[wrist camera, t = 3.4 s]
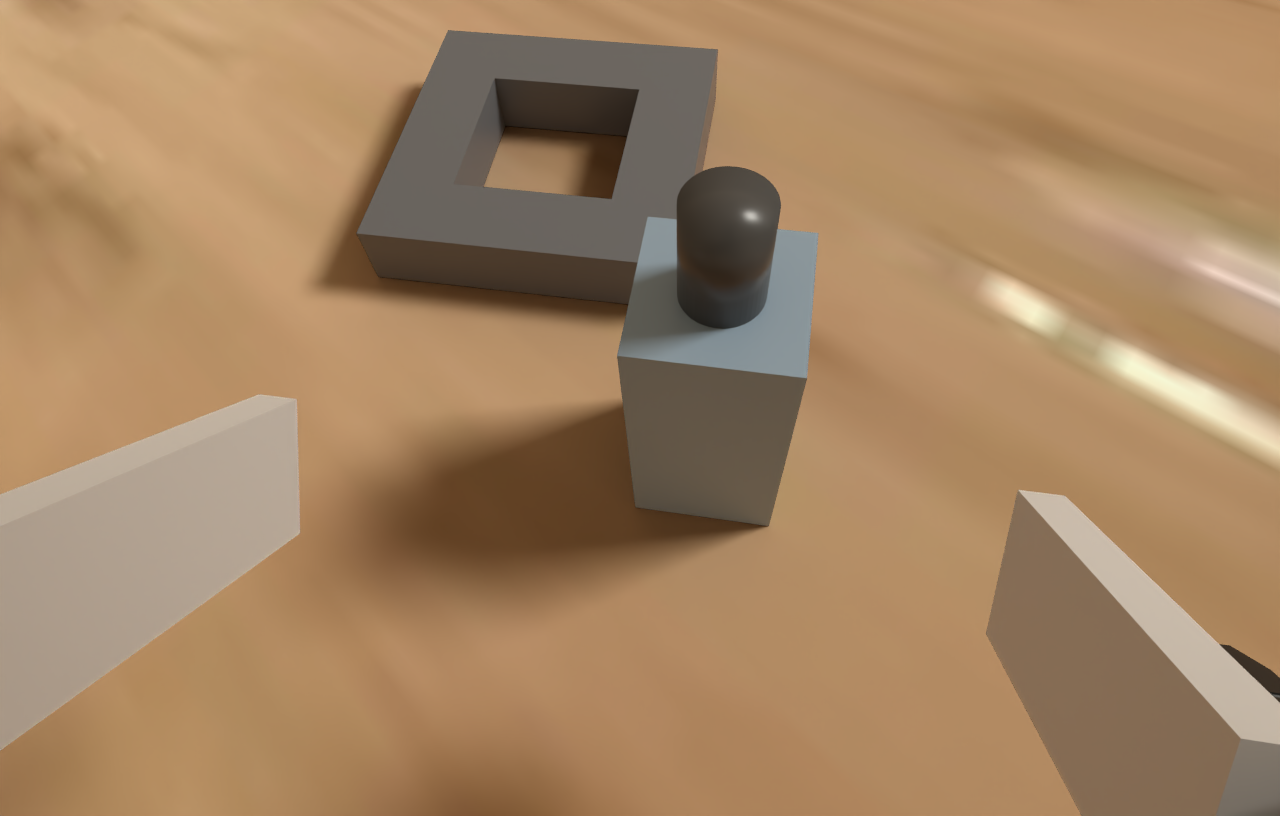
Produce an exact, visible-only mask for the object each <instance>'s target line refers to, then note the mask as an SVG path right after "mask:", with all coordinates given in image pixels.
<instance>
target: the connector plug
mask: <svg viewBox="0 0 1280 816" xmlns="http://www.w3.org/2000/svg"><path fill="white" fill-rule="evenodd" d="M780 209H781V202H780V197H779V194H778V192H777V190H776V189H775V187H774V186H773V184H772V183H771V182H770V181H769V180H767V179H766V178H765V177H763V176H762V175H760V174H758V173H756V172H754V171H751V170H748V169H745V168H740V167H730V166H725V167H716V168H711V169H708V170H705V171H702V172H700V173H698V174H696V175H695V176H693V177H691V178H690V179H689V180H688V181H687V182H686V183H685V184H684V185H683V187H682V188H681V190H680V192H679V194H678V197H677V219H667V218H657V217H648V218H647V222H646V227H645V231H644V236H643V241H642V245H641V250H640V254H639V259H638V263H637V268H636V272H635V277H634V282H633V286H632V291H631V295H630V300H629V304H628V309H627V313H626V318H625V323H624V327H623V332H622V336H621V341H620V345H619V350H618V354H617V358H618V366H619V375H620V383H621V392H622V400H623V408H624V417H625V425H626V434H627V442H628V450H629V459H630V467H631V476H632V484H633V492H634V501H635V507H637V508H644V509H651V510H658V511H665V512H672V513H679V514H686V515H694V516H701V517H708V518H715V519H722V520H729V521H736V522H743V523H750V524H757V525H764V526H769V524H770V520H771V516H772V512H773V508H774V504H775V500H776V496H777V493H778V489H779V485H780V481H781V477H782V473H783V469H784V465H785V461H786V458H787V454H788V450H789V446H790V442H791V438H792V434H793V430H794V426H795V423H796V419H797V415H798V411H799V407H800V403H801V399H802V395H803V391H804V388H805V384H806V380H807V371H808V358H809V345H810V333H811V320H812V307H813V295H814V282H815V269H816V257H817V244H818V233H811V232H801V231H791V230H781V229H778V222H779V215H780Z"/></svg>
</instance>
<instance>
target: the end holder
mask: <svg viewBox="0 0 1280 816" xmlns="http://www.w3.org/2000/svg"><path fill="white" fill-rule="evenodd" d="M717 57H718V49H704V48H690V47H676V46H661V45H647V44H633V43H619V42H605V41H591V40H577V39H563V38H549V37H535V36H521V35H507V34H493V33H479V32H465V31H451V30H448V32H447V34H446V36H445V39H444V41H443V43H442V45H441V47H440V50H439V52H438V54H437V56H436V58H435V61H434V63H433V65H432V67H431V69H430V72H429V74H428V76H427V78H426V81H425V83H424V85H423V87H422V89H421V92H420V94H419V96H418V98H417V100H416V103H415V105H414V107H413V109H412V112H411V114H410V116H409V118H408V120H407V123H406V125H405V127H404V129H403V131H402V134H401V136H400V138H399V140H398V142H397V145H396V147H395V149H394V151H393V154H392V156H391V158H390V160H389V162H388V165H387V167H386V169H385V171H384V173H383V176H382V178H381V180H380V182H379V185H378V187H377V189H376V191H375V193H374V196H373V198H372V200H371V202H370V204H369V207H368V209H367V211H366V213H365V215H364V218H363V220H362V222H361V224H360V227H359V229H358V231H357V233H356V234H357V236H358V237H359V239H360V241H361V243H362V245H363V247H364V249H365V251H366V253H367V255H368V257H369V259H370V261H371V263H372V265H373V267H374V269H375V271H376V273H377V275H378V277H386V278H395V279H404V280H413V281H422V282H431V283H440V284H449V285H458V286H467V287H476V288H485V289H494V290H503V291H512V292H521V293H530V294H540V295H549V296H558V297H567V298H576V299H585V300H594V301H603V302H612V303H621V304H629V300H630V295H631V291H632V286H633V282H634V277H635V272H636V268H637V263H638V259H639V254H640V250H641V245H642V241H643V236H644V231H645V227H646V222H647V218H648V217H657V218H667V219H677V197H678V194H679V192H680V190H681V188H682V187H683V185H684V184H685V183H686V182H687V181H688V180H689V179H690V178H691V177H693V176H695V175H696V174H698V173H700V172H702V170H703V165H704V159H705V154H706V148H707V143H708V137H709V132H710V126H711V121H712V115H713V110H714V104H715V99H716V78H717ZM505 126H513V127H525V128H537V129H549V130H560V131H572V132H584V133H596V134H607V135H619V136H627V140H626V144H625V148H624V152H623V156H622V160H621V164H620V168H619V172H618V176H617V180H616V184H615V188H614V192H613V196H612V199H605V198H594V197H584V196H573V195H563V194H552V193H542V192H531V191H521V190H510V189H500V188H489V187H483V186H484V184H485V181H486V178H487V175H488V173H489V170H490V167H491V164H492V162H493V159H494V156H495V153H496V151H497V148H498V145H499V142H500V140H501V137H502V134H503V131H504V129H505Z"/></svg>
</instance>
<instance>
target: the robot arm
mask: <svg viewBox="0 0 1280 816" xmlns="http://www.w3.org/2000/svg"><path fill="white" fill-rule="evenodd" d="M299 534H300V509H299V469H298V429H297V399H292V398H284V397H276V396H268V395H260V394H259V395H256V396H253V397H251V398H248V399H246V400H243V401H241V402H238V403H235V404H233V405H230V406H228V407H225V408H222V409H220V410H217V411H215V412H212V413H210V414H207V415H204V416H202V417H199V418H197V419H194V420H191V421H189V422H186V423H184V424H181V425H179V426H176V427H173V428H171V429H168V430H166V431H163V432H160V433H158V434H155V435H153V436H150V437H148V438H145V439H142V440H140V441H137V442H135V443H132V444H129V445H127V446H124V447H122V448H119V449H117V450H114V451H111V452H109V453H106V454H104V455H101V456H98V457H96V458H93V459H91V460H88V461H86V462H83V463H80V464H78V465H75V466H73V467H70V468H67V469H65V470H62V471H60V472H57V473H55V474H52V475H49V476H47V477H44V478H42V479H39V480H36V481H34V482H31V483H29V484H26V485H23V486H21V487H18V488H16V489H13V490H11V491H8V492H5V493H3V494H0V750H2V749H3V748H5V747H6V746H7V745H9V744H10V743H12V742H13V741H14V740H16V739H17V738H18V737H20V736H21V735H23V734H24V733H25V732H27V731H28V730H29V729H31V728H32V727H34V726H35V725H36V724H38V723H39V722H40V721H42V720H43V719H45V718H46V717H47V716H49V715H50V714H52V713H53V712H54V711H56V710H57V709H58V708H60V707H61V706H63V705H64V704H65V703H67V702H68V701H69V700H71V699H72V698H74V697H75V696H76V695H78V694H79V693H81V692H82V691H83V690H85V689H86V688H87V687H89V686H90V685H92V684H93V683H94V682H96V681H97V680H98V679H100V678H101V677H103V676H104V675H105V674H107V673H108V672H109V671H111V670H112V669H114V668H115V667H116V666H118V665H119V664H121V663H122V662H123V661H125V660H126V659H127V658H129V657H130V656H132V655H133V654H134V653H136V652H137V651H138V650H140V649H141V648H143V647H144V646H145V645H147V644H148V643H150V642H151V641H152V640H154V639H155V638H156V637H158V636H159V635H161V634H162V633H163V632H165V631H166V630H167V629H169V628H170V627H172V626H173V625H174V624H176V623H177V622H178V621H180V620H181V619H183V618H184V617H185V616H187V615H188V614H190V613H191V612H192V611H194V610H195V609H196V608H198V607H199V606H201V605H202V604H203V603H205V602H206V601H207V600H209V599H210V598H212V597H213V596H214V595H216V594H217V593H218V592H220V591H221V590H223V589H224V588H225V587H227V586H228V585H230V584H231V583H232V582H234V581H235V580H236V579H238V578H239V577H241V576H242V575H243V574H245V573H246V572H247V571H249V570H250V569H252V568H253V567H254V566H256V565H257V564H259V563H260V562H261V561H263V560H264V559H265V558H267V557H268V556H270V555H271V554H272V553H274V552H275V551H276V550H278V549H279V548H281V547H282V546H283V545H285V544H286V543H287V542H289V541H290V540H292V539H293V538H294V537H296V536H297V535H299ZM986 635H987V637H988V638H989V640H990V642H991V644H992V646H993V648H994V650H995V652H996V654H997V656H998V657H999V659H1000V661H1001V663H1002V665H1003V667H1004V669H1005V671H1006V673H1007V675H1008V676H1009V678H1010V680H1011V682H1012V684H1013V686H1014V688H1015V690H1016V692H1017V694H1018V696H1019V697H1020V699H1021V701H1022V703H1023V705H1024V707H1025V709H1026V711H1027V713H1028V715H1029V716H1030V718H1031V720H1032V722H1033V724H1034V726H1035V728H1036V730H1037V732H1038V734H1039V736H1040V737H1041V739H1042V741H1043V743H1044V745H1045V747H1046V749H1047V751H1048V753H1049V755H1050V756H1051V758H1052V760H1053V762H1054V764H1055V766H1056V768H1057V770H1058V772H1059V774H1060V775H1061V777H1062V779H1063V781H1064V783H1065V785H1066V787H1067V789H1068V791H1069V793H1070V795H1071V796H1072V798H1073V800H1074V802H1075V804H1076V806H1077V808H1078V810H1079V812H1080V814H1081V815H1082V816H1280V678H1279V677H1278V676H1277V675H1276V674H1275V673H1274V672H1272V671H1271V670H1270V669H1268V668H1266V667H1265V666H1263V665H1261V664H1260V663H1258V662H1256V661H1255V660H1253V659H1251V658H1250V657H1248V656H1246V655H1245V654H1243V653H1241V652H1240V651H1238V650H1236V649H1235V648H1233V647H1231V646H1229V645H1222V644H1218V643H1217V642H1216V641H1215V640H1214V639H1213V638H1212V637H1211V636H1210V635H1209V634H1208V633H1207V632H1206V631H1205V630H1204V629H1203V628H1202V627H1201V626H1200V625H1198V624H1197V623H1196V622H1195V621H1194V620H1193V619H1192V618H1191V617H1190V616H1189V615H1188V614H1187V613H1186V612H1185V611H1184V610H1183V609H1182V608H1181V607H1180V606H1179V605H1178V604H1177V603H1176V602H1175V601H1174V600H1173V599H1172V598H1170V597H1169V596H1168V595H1167V594H1166V593H1165V592H1164V591H1163V590H1162V589H1161V588H1160V587H1159V586H1158V585H1157V584H1156V583H1155V582H1154V581H1153V580H1152V579H1151V578H1150V577H1149V576H1148V575H1147V574H1146V573H1145V572H1143V571H1142V570H1141V569H1140V568H1139V567H1138V566H1137V565H1136V564H1135V563H1134V562H1133V561H1132V560H1131V559H1130V558H1129V557H1128V556H1127V555H1126V554H1125V553H1124V552H1123V551H1122V550H1121V549H1120V548H1119V547H1118V546H1116V545H1115V544H1114V543H1113V542H1112V541H1111V540H1110V539H1109V538H1108V537H1107V536H1106V535H1105V534H1104V533H1103V532H1102V531H1101V530H1100V529H1099V528H1098V527H1097V526H1096V525H1095V524H1094V523H1093V522H1092V521H1091V520H1089V519H1088V518H1087V517H1086V516H1085V515H1084V514H1083V513H1082V512H1081V511H1080V510H1079V509H1078V508H1077V507H1076V506H1075V505H1074V504H1073V503H1072V502H1071V501H1070V500H1069V499H1068V498H1067V497H1066V496H1062V495H1055V494H1047V493H1039V492H1031V491H1023V490H1018V492H1017V496H1016V501H1015V505H1014V510H1013V514H1012V519H1011V523H1010V528H1009V532H1008V537H1007V541H1006V546H1005V550H1004V555H1003V559H1002V564H1001V568H1000V573H999V577H998V582H997V586H996V591H995V595H994V600H993V604H992V609H991V613H990V618H989V622H988V627H987V631H986Z"/></svg>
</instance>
